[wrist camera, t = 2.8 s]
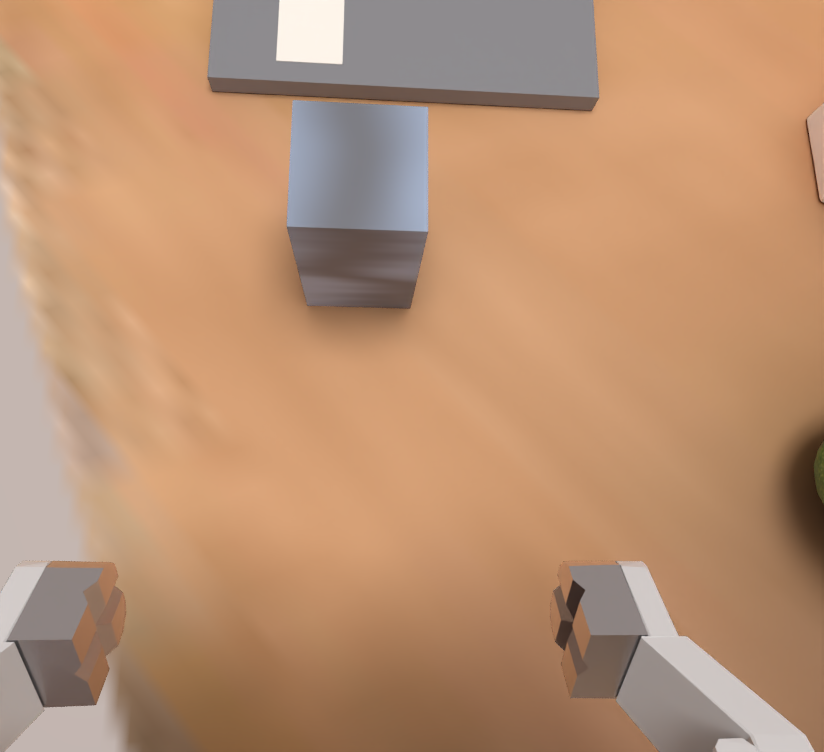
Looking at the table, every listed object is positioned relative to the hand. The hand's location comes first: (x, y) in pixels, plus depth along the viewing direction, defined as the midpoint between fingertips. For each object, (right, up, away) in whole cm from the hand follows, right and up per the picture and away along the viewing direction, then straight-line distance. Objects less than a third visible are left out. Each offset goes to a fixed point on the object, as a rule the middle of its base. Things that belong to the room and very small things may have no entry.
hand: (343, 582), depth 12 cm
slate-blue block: (-1, +9, +17) cm, 19 cm away
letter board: (+1, +24, +20) cm, 31 cm away
